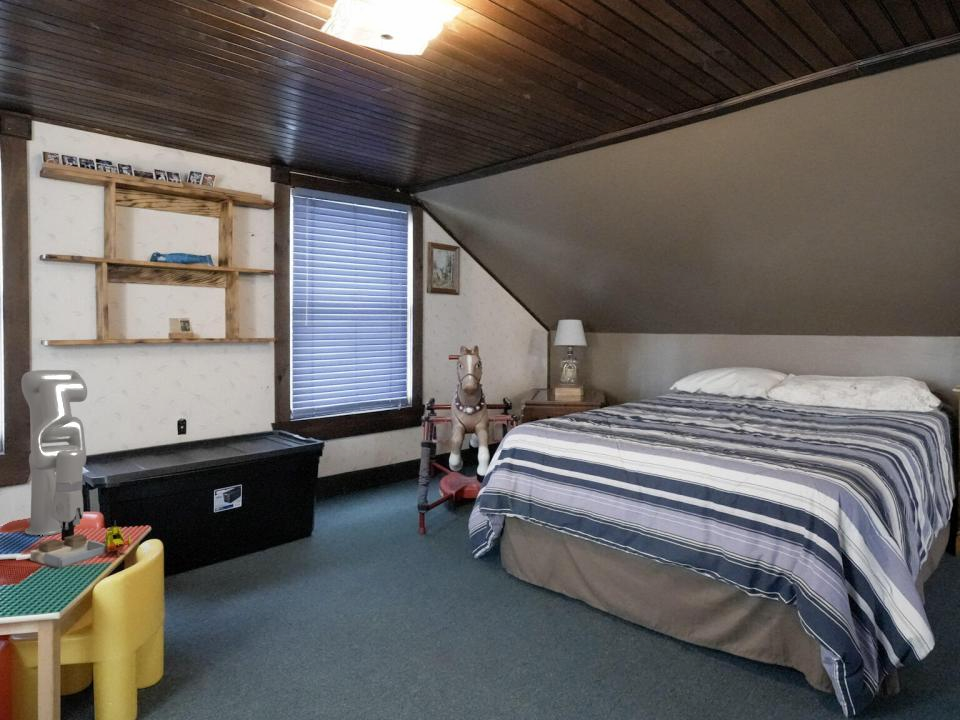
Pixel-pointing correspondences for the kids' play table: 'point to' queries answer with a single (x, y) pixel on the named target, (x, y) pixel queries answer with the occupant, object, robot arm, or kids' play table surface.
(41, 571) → the kids' play table surface
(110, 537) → the toy car
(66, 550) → the plate
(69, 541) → the tile
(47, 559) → the box
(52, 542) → the tile
